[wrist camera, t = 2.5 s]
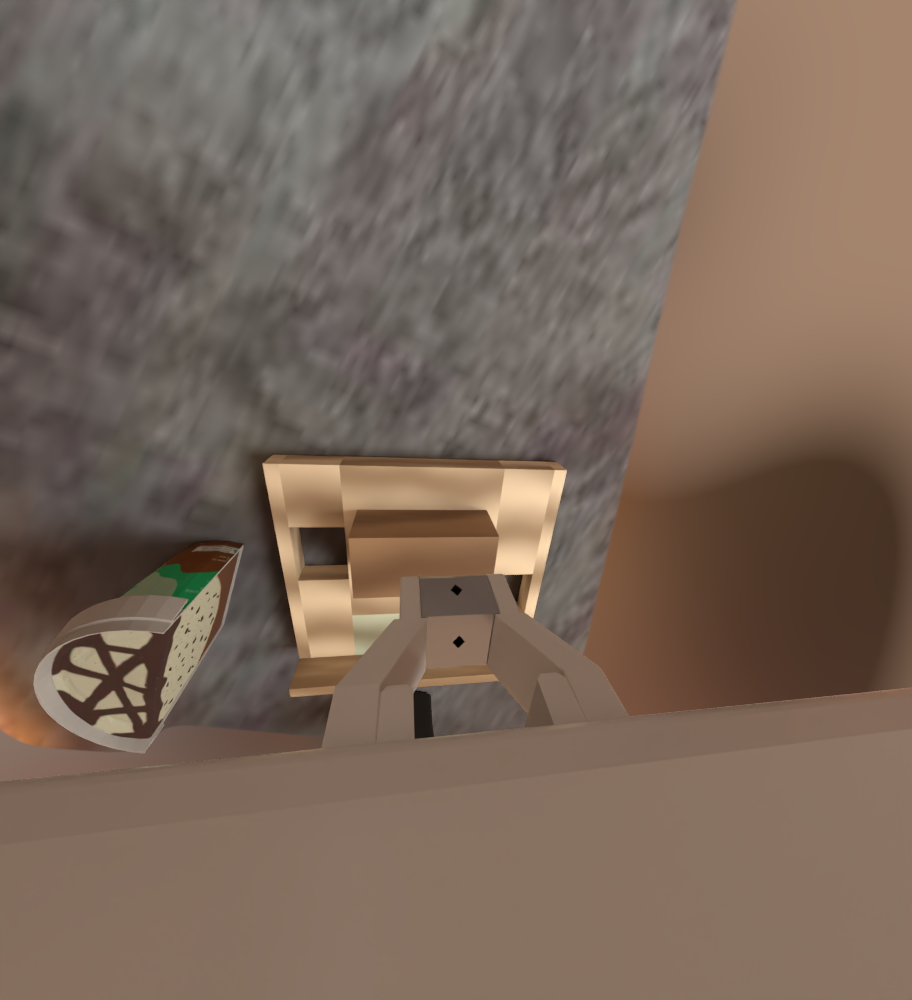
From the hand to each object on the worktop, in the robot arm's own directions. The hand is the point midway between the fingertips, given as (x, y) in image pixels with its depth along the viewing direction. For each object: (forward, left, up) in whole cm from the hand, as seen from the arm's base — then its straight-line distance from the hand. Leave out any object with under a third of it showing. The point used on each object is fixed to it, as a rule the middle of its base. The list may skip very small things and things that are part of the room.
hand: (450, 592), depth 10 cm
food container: (+13, -19, -17) cm, 29 cm away
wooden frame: (+12, 0, -17) cm, 21 cm away
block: (+8, 0, -15) cm, 17 cm away
